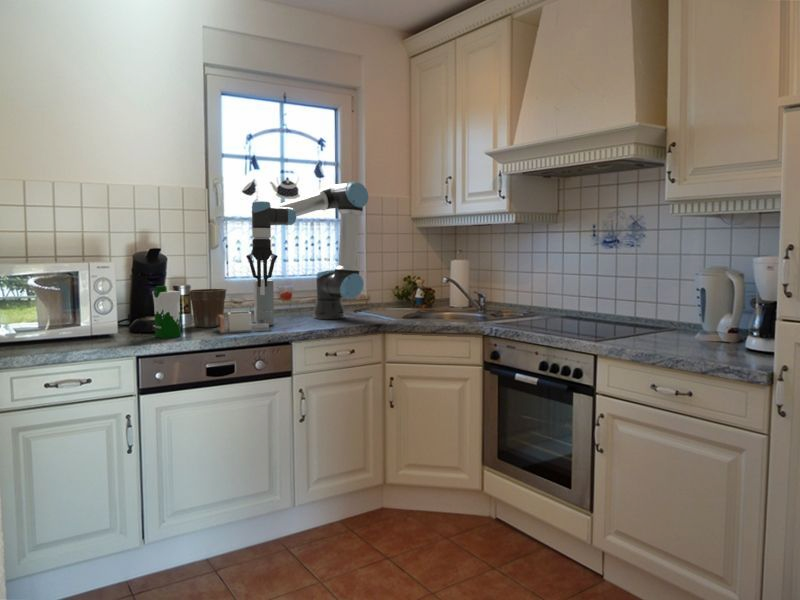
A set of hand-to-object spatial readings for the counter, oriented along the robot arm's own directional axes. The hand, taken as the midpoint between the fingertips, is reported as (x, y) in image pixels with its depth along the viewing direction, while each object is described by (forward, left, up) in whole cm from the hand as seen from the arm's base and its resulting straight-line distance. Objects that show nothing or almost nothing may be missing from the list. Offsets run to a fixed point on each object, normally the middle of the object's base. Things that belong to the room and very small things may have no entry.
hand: (262, 294), depth 258 cm
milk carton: (+38, +7, -15) cm, 41 cm away
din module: (+10, 0, -14) cm, 17 cm away
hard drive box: (-3, -19, -15) cm, 25 cm away
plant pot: (+21, -20, -15) cm, 33 cm away
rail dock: (+8, 0, -15) cm, 17 cm away
